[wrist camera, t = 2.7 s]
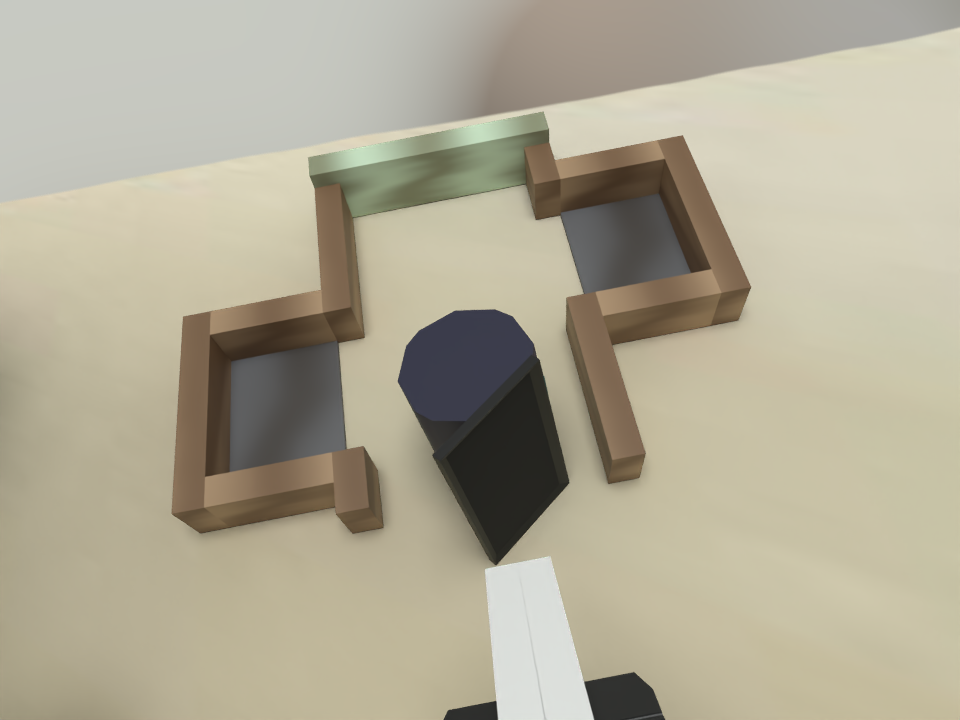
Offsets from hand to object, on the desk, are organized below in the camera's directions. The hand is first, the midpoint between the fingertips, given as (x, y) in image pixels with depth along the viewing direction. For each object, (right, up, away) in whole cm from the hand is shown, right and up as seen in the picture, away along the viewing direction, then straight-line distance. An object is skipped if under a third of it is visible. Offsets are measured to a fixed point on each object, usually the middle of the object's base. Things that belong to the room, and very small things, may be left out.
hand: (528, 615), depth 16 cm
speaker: (-1, 0, +19) cm, 19 cm away
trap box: (-2, +7, +23) cm, 24 cm away
